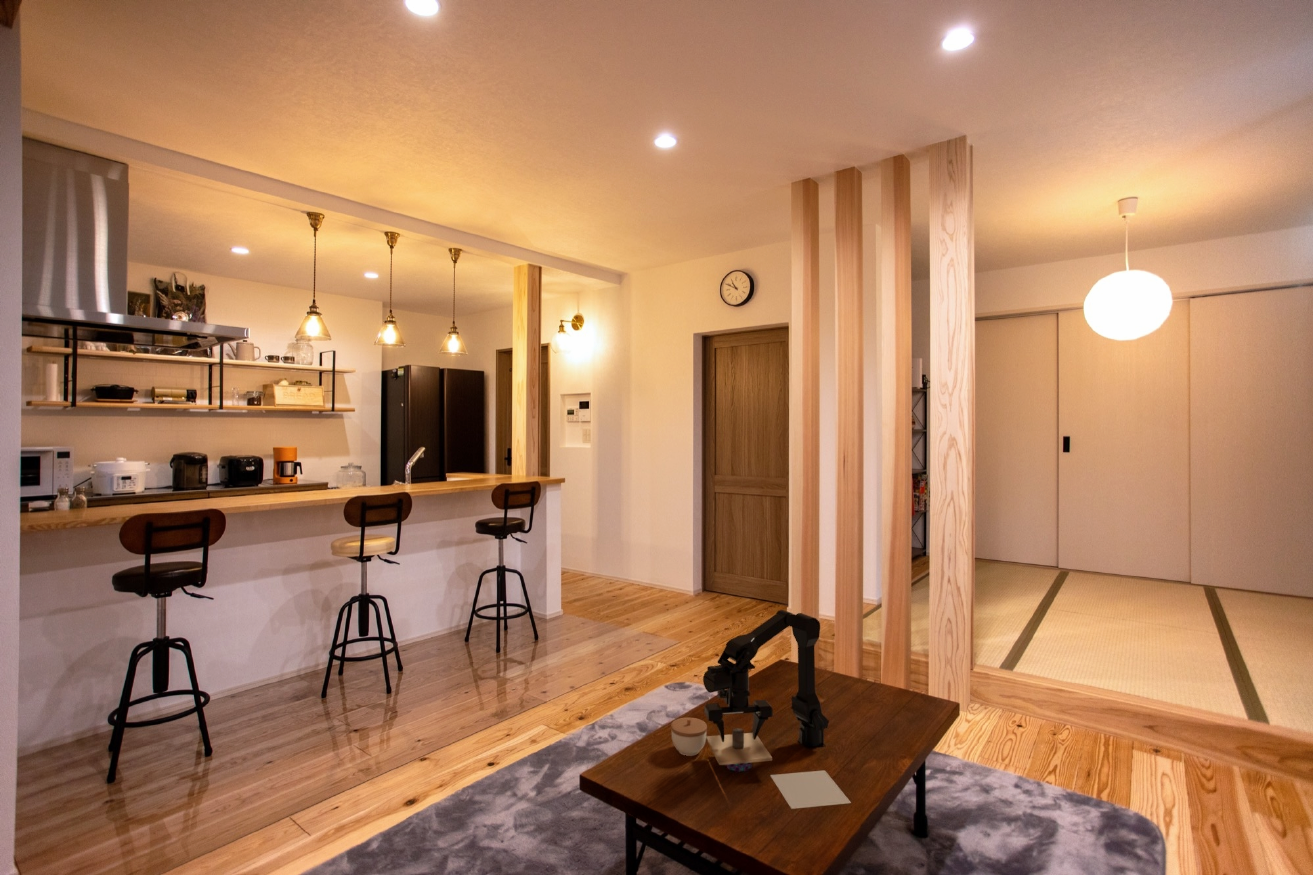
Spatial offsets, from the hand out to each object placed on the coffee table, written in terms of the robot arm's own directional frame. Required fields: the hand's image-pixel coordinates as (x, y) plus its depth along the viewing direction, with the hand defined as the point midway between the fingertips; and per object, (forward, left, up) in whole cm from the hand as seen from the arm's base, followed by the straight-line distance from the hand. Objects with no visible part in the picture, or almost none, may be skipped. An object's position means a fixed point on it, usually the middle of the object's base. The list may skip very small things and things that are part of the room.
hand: (738, 740), depth 182 cm
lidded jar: (+12, -11, -8) cm, 18 cm away
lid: (0, 0, -3) cm, 3 cm away
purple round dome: (0, 0, -8) cm, 8 cm away
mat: (-15, +15, -8) cm, 22 cm away
